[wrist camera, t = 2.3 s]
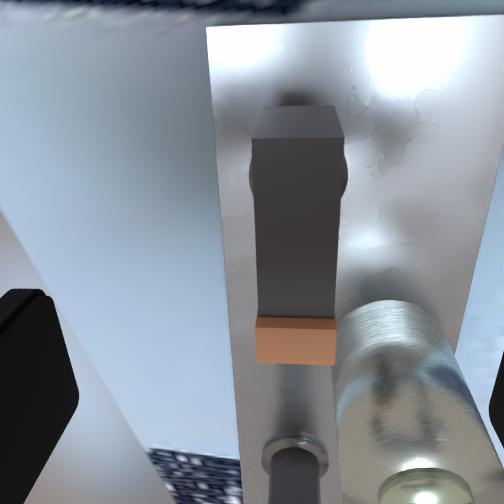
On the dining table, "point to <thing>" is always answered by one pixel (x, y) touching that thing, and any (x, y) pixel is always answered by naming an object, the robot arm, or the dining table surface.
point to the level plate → (371, 250)
